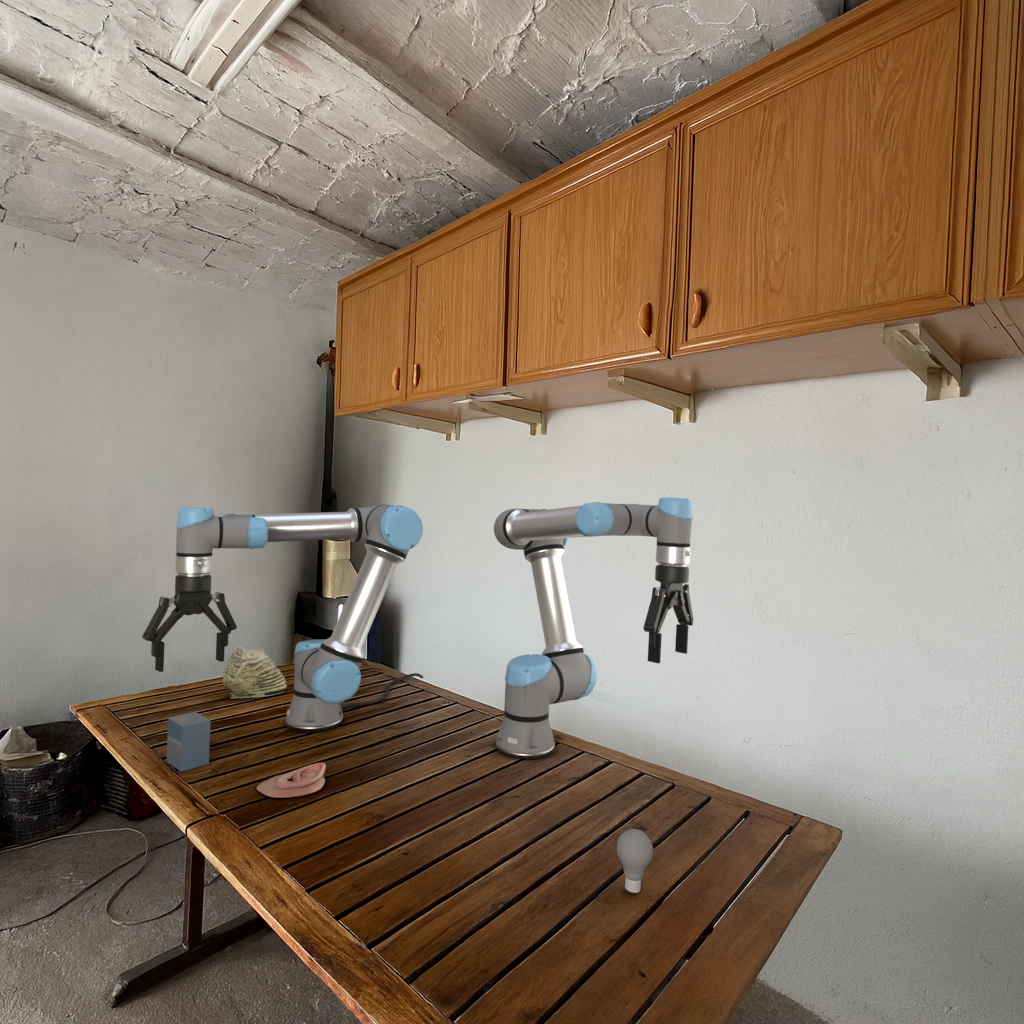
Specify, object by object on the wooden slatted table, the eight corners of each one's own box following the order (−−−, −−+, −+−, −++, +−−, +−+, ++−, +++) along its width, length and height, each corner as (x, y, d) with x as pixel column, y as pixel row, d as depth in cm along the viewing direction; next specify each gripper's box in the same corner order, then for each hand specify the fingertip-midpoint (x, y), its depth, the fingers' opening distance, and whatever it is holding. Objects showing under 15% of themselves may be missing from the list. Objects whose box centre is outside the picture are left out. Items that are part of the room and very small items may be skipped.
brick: (181, 771, 143) (182, 726, 142) (166, 761, 147) (168, 718, 147) (209, 763, 147) (210, 720, 147) (194, 754, 152) (195, 711, 152)
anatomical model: (248, 775, 133) (279, 754, 144) (247, 794, 133) (278, 771, 144) (306, 783, 130) (332, 761, 142) (305, 802, 130) (332, 779, 142)
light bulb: (610, 879, 108) (613, 822, 108) (644, 879, 109) (647, 822, 109) (619, 902, 102) (622, 840, 102) (655, 901, 103) (658, 840, 103)
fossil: (218, 695, 195) (220, 647, 195) (278, 685, 208) (279, 640, 207) (228, 703, 189) (230, 653, 188) (289, 692, 201) (290, 645, 201)
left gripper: (141, 579, 135) (137, 678, 135) (253, 572, 154) (250, 659, 154) (128, 575, 139) (124, 671, 140) (238, 569, 158) (235, 653, 159)
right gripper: (662, 569, 133) (657, 670, 133) (710, 563, 152) (706, 651, 152) (630, 565, 138) (625, 662, 138) (681, 560, 157) (677, 646, 157)
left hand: (190, 665), depth 147 cm, fingers open, 13 cm apart
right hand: (667, 657), depth 145 cm, fingers open, 13 cm apart
